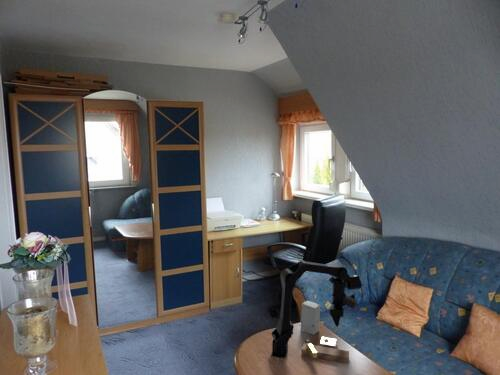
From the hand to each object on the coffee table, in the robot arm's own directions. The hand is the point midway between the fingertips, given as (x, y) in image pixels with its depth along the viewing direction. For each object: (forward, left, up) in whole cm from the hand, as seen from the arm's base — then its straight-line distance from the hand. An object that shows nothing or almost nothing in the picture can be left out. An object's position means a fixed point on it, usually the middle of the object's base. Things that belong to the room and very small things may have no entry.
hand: (337, 321), depth 177 cm
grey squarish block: (-4, -3, -12) cm, 13 cm away
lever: (-10, -14, -9) cm, 20 cm away
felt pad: (-4, -3, -13) cm, 13 cm away
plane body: (-5, -11, -13) cm, 17 cm away
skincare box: (-15, +11, -13) cm, 23 cm away
